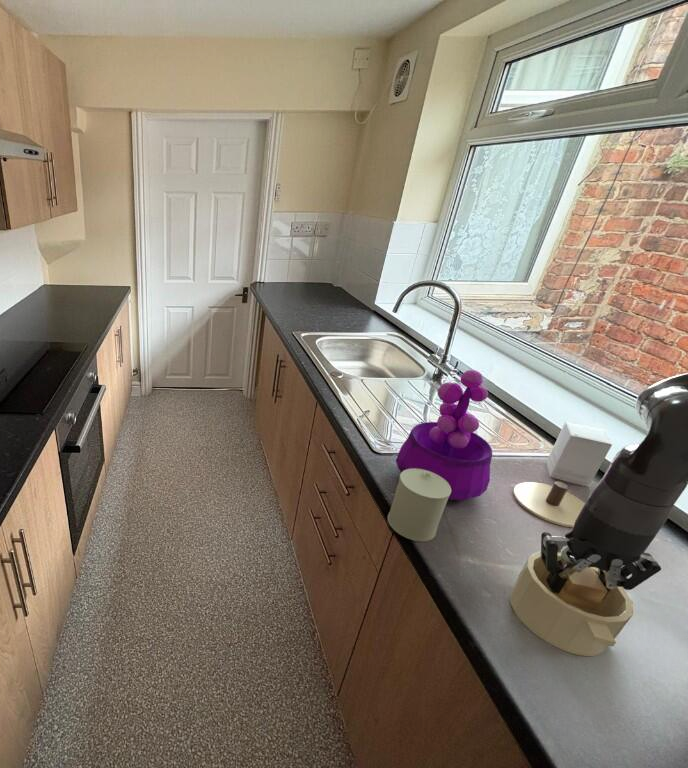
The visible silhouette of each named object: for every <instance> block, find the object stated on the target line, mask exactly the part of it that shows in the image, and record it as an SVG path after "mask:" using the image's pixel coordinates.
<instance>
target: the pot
mask: <svg viewBox="0 0 688 768" xmlns="http://www.w3.org/2000/svg"><path fill="white" fill-rule="evenodd" d="M562 551H563V549H562V550H561V552H562ZM561 552H560V553H558V554H557V559H558V558H559V557H560V556H561ZM523 565H524V566H523V567H522V569H521V571H520V573H519V574H518V577H517V579H516V580H515V582H514V584H513V586H512V588H511V591H510V595H509V601H510V605H511V608H512V609H513V611H514V613H515V615H516V616H517V617H518V619H519V620H520V621H521V623H523V624H524V626H526V627H527V628H528V629H529V630H530V631H531V632H532V633H534V634H535V635H536V636H537V637H539V638H540V639H542V640H543V641H544V642H545V643H548V644H550V646H551V645H552V646H553V647H555V648H557V649H560V650H561V651H565V652H567V653H570V654H573V655H576V656H583V657H595V656H599V655H601V654H602V653H604V652H605V651H606V650H607V649H608V648H609V647H614V646H615V645H616V643H617V640H616V638H617V637H618V635H619V634H620V633H621V632H622V630H623V629H624V627H625V626H626V625H627V623H629V621H630V620H631V618H633V616H634V603H633V601H632V599H631V598H630V596H629V595H628V593H627V592H626V591H625V590H626V589H624V588H623V587H616V588H615V589H611V590H610V591H609V593H608V594H607V596H606V597H605V599H603V600H602V601H601V602H600V604H599V605H598V607H597V608H596V609H595V610H592V609H588V608H584V607H580V606H576V605H572V604H568V603H566V602H564V601H563V600H561V599H560V598H559V597H558V595H557V593H553V592H552V590H551V588H550V587H549V585H548V583H547V581H546V578H547V577H548V575H549V573H550V572H549V571H547V569H546V567H545V565H544V563H543V561H542V559H541V551H536V552H534V553H533V554H531V555H530V556H528V557H527V559H526V561H525V564H523ZM588 568H593V569H594V571H595V572H596V574H597V576H599V575H598V568H596V567H588Z"/></svg>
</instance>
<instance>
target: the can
mask: <svg viewBox="0 0 688 768" xmlns="http://www.w3.org/2000/svg"><path fill="white" fill-rule="evenodd" d="M397 483H398V484H397V486H396V489H395V493H394V497H393V500H392V504H391V507H390V510H389V512H388V515H387V523H388V525H389V526H390V528H392V530H393V531H394V532H395V533H397V534H398V535H400V536H401V537H404V538H406V539H408V540H411V541H414V542H429V541H432V540H433V539H434V538H436V535H437V531H438V527H439V525H440V521H441V519H442V516H443V513H444V511H445V508H446V505H447V503H448V501H449V500H448V498H449V496H450V494H451V487H450V485H449V484H448V482H447V481H446V480H445V479H443V478H442V477H440V476H439V475H437V474H435V473H433V472H430V471H427V470H423V469H416V468H412V469H406V470H404V471H403V472H402V473H401V472H400V474H399V479H398V482H397Z"/></svg>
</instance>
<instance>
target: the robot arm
mask: <svg viewBox="0 0 688 768" xmlns="http://www.w3.org/2000/svg"><path fill="white" fill-rule="evenodd" d="M634 407H635V412H636V413H637V415H638V417H639V418H640V420H641V421H642V422H643V423H644V424H645V426H646V427H647V428H648V430H647V433H646V435H645V437H644V438H643V440H642V441H641V442H640V443H632V444H628V445H625V446H623V447H622V448H621V449H620V450H619V451H617V453H616V454H615V456H614V457H613V458H612V460H611V462H610V464H609V466H608V468H607V469H606V471H605V473H604V475H603V476H602V478H601V479H600V480H599V481H598V483H596V484H595V486H594V487H593V489H592V490H591V492H590V494H589V496H588V497H587V499H586V501H585V502H584V503H585V505H584V506H583V508H582V510H581V512H580V513H579V515H578V517H577V519H576V521H575V524H574V528H572V530H571V531H570V532H568V533H566V534H565V535H564V536H552V534H551V532H548V531H544V532H542V533H541V535H540V536H541V537H540V538H541V539H540V552H541V559H542V561H543V563H544V565H545V567H546V569H547V571H549V572H550V573H549V575H548V577H547V578H546V581H547V583H548V585H549V587H550V588H551V590H552V592H553V593H558V594H559V593H560V591H561V589H562V588H563V586H564V585H565V583H566V581H567V580H568V579H567V578H568V577H569V576H571V575H572V574H573V573H575V572H581V571H582V570H584V569H585V568H586V567H596V568H597V569H598V575H599V576H598V577H599V579H600V580H601V582H602V583H603V585H604V586H605V588H606V590H607V591H608V592H607V594H608V593H609V591H610V590H611V589H615V588H616V587H622V588H623V589H624V590H626V591H631V590H633V589H635V588H636V587H638V586H639V585H641V584H642V583H644V582H645V581H647V580H649V579H650V578H651V577H653V576H655V575H656V574H657V573H659V572H660V571H662V567H661V565H660V564H659V563H658V561H657V560H656V559H655V557H653V556H652V554H650V553H649V552H646V551H647V549H648V547H650V544H651V543H653V540H654V539H655V538H656V536H657V535H658V534H659V532H660V531H661V529H662V527H663V526H664V525H665V523H666V522H667V520H668V519H669V517H670V515H671V512H672V509H673V507H674V506H675V504H676V503H677V501H678V499H679V498H680V497H681V496H682V494H683V492H684V491H685V490H686V488H687V486H688V372H687V373H682V374H677V375H675V376H671V377H668V378H665V379H662V380H660V381H658V382H656V383H653V384H651V385H649V386H648V387H646V388H645V389H644V390H643V391H641V392H640V393H639V395H638V396H637V398H636V400H635V403H634ZM564 547H566V548H564ZM563 548H564V549H563ZM561 550H562V552H561ZM560 552H561V556H560V557H559V558H558V559H557V554H558V553H560ZM566 564H567V565H566ZM565 565H566V566H565ZM564 566H565V567H564ZM630 575H631V576H630ZM607 594H606V595H605V596H604V598H603V599H605V597H606V596H607ZM603 599H602V600H603Z"/></svg>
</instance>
